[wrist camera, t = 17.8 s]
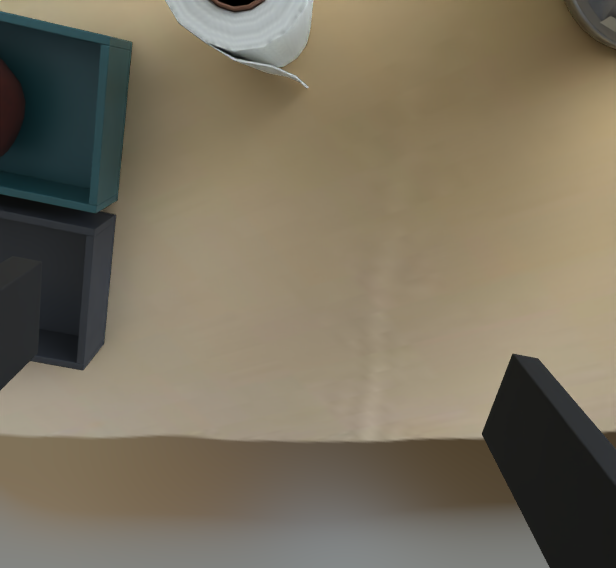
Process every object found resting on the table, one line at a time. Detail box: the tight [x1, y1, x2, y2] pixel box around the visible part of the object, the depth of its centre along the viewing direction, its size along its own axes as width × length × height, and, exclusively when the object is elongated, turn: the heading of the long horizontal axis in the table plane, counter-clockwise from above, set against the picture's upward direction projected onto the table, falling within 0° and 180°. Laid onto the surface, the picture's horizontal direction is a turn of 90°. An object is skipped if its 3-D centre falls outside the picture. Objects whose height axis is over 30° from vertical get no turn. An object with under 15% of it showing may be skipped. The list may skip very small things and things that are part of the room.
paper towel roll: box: [165, 0, 313, 88], centre depth 30 cm, size 7×6×21 cm
